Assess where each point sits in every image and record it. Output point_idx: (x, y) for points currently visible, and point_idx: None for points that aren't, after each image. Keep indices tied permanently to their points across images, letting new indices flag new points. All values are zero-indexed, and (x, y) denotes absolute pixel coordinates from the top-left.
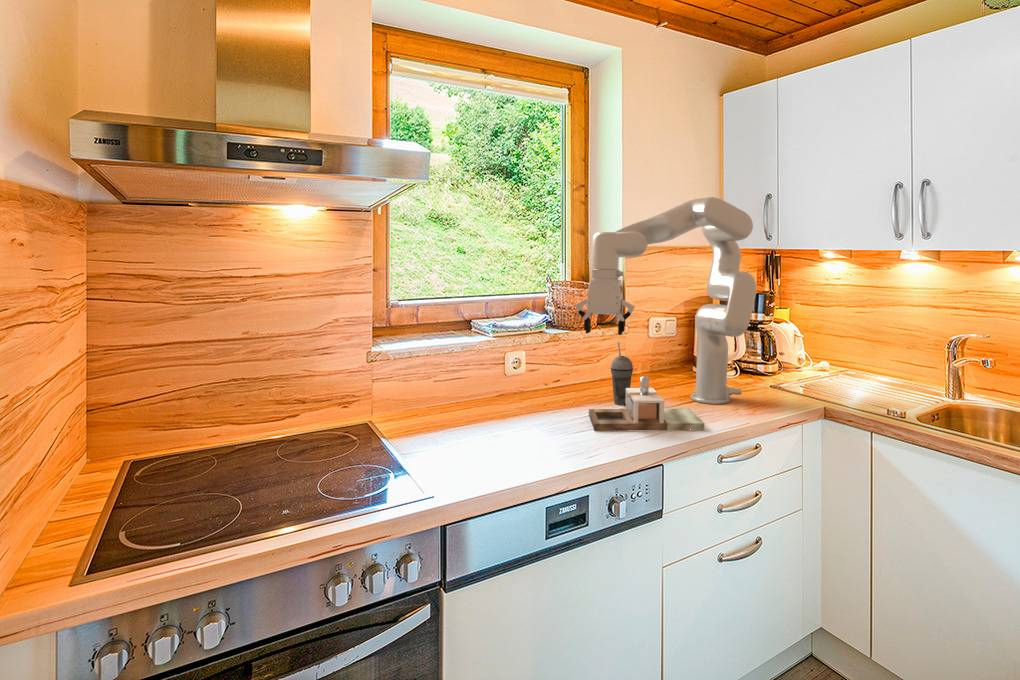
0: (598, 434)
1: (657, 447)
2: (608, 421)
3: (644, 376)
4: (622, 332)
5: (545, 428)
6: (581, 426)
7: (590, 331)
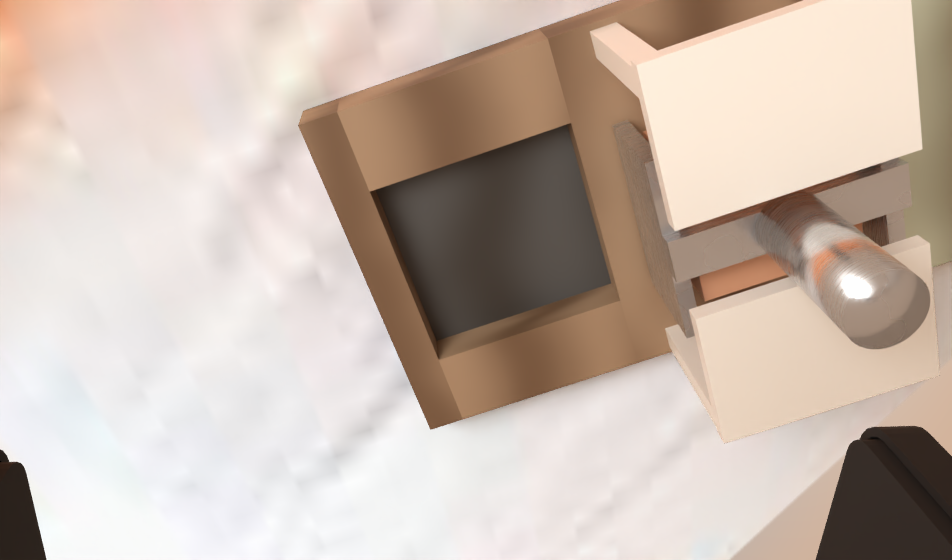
0: (465, 448)
1: (772, 516)
2: (507, 363)
3: (887, 294)
4: (924, 442)
5: (136, 454)
6: (331, 355)
7: (17, 463)
